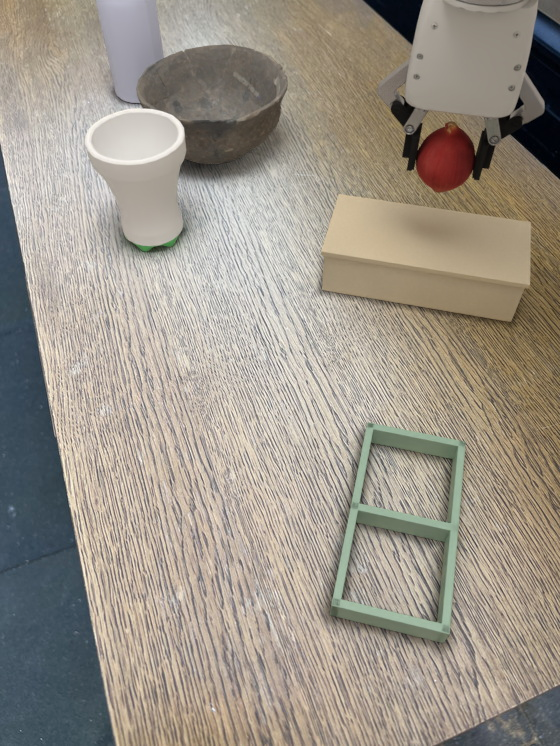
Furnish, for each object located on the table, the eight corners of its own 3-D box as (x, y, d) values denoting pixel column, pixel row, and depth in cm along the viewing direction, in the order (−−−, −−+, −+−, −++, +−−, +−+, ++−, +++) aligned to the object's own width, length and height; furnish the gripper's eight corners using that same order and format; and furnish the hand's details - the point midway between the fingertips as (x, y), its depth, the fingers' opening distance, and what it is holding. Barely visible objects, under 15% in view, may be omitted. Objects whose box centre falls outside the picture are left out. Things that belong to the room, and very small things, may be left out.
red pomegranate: (435, 167, 71) (450, 98, 65) (477, 191, 68) (497, 122, 62) (399, 189, 69) (411, 120, 62) (442, 215, 66) (458, 145, 60)
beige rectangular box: (515, 262, 80) (531, 221, 75) (513, 324, 74) (530, 284, 69) (335, 234, 83) (338, 193, 78) (318, 291, 77) (321, 251, 72)
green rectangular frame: (460, 454, 63) (466, 441, 61) (443, 643, 52) (449, 634, 50) (364, 435, 65) (367, 421, 63) (329, 615, 54) (331, 605, 52)
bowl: (197, 95, 104) (190, 31, 97) (311, 128, 98) (314, 63, 90) (118, 162, 93) (103, 96, 85) (242, 204, 87) (238, 137, 79)
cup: (147, 276, 79) (125, 176, 68) (93, 235, 84) (63, 135, 72) (216, 232, 84) (205, 132, 73) (160, 195, 88) (142, 96, 77)
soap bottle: (124, 73, 109) (90, -95, 90) (176, 80, 107) (153, -89, 88) (102, 99, 104) (61, -73, 85) (156, 107, 102) (127, -66, 83)
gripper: (596, -35, 53) (530, 158, 67) (386, -53, 56) (366, 136, 70) (601, 4, 49) (529, 202, 63) (373, -17, 51) (354, 177, 65)
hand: (443, 166), depth 66 cm, fingers closed on red pomegranate, 5 cm apart
